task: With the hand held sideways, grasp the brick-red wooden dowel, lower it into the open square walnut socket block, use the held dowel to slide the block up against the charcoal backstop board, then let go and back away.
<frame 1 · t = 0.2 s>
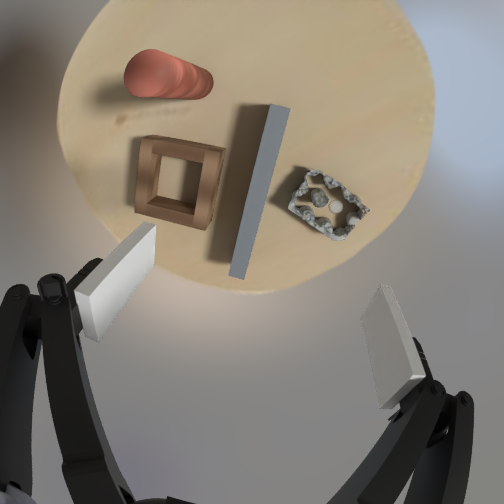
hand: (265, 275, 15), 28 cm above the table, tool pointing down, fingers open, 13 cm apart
grey rough frame: (326, 200, 42), on the table
backstop wall: (259, 189, 42), on the table
socket block: (182, 177, 42), on the table
dowel: (196, 83, 35), on the table
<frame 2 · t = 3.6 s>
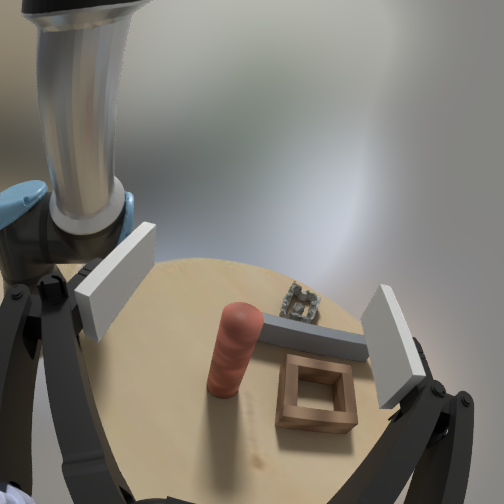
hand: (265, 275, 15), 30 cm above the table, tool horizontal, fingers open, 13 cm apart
grey rough frame: (297, 312, 61), on the table
backstop wall: (306, 347, 51), on the table
socket block: (312, 400, 41), on the table
dowel: (222, 385, 40), on the table
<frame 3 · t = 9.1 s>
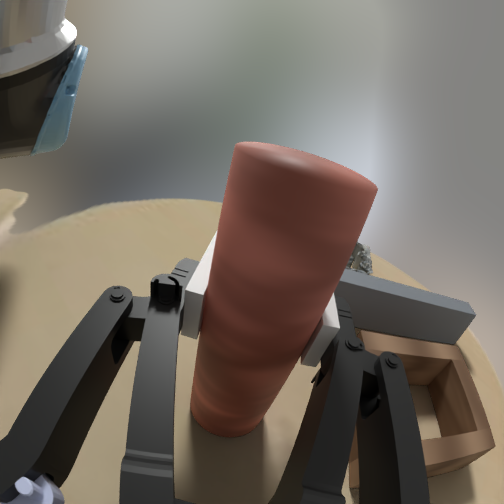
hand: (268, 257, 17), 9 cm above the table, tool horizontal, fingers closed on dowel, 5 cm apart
grey rough frame: (338, 269, 38), on the table
backstop wall: (373, 323, 28), on the table
socket block: (406, 419, 17), on the table
dowel: (227, 405, 17), on the table, touching gripper
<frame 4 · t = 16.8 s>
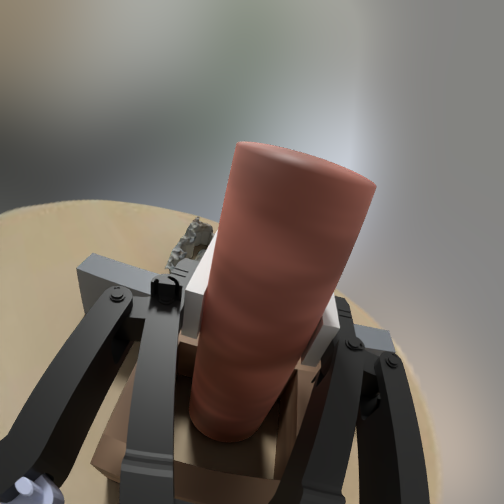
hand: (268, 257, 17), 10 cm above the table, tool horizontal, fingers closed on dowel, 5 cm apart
grey rough frame: (207, 272, 32), on the table
backstop wall: (225, 350, 22), on the table
socket block: (219, 432, 16), on the table, touching dowel
dowel: (226, 410, 16), point 1 cm above the table, touching gripper, socket block
when the fingers open (10 cm above the table, at t = 17.5 s): dowel stays where it is, resting in socket block.
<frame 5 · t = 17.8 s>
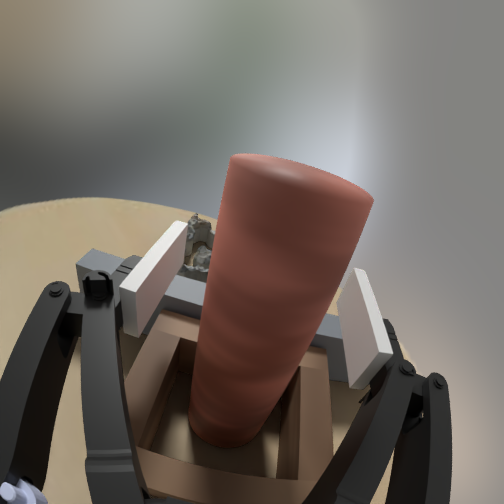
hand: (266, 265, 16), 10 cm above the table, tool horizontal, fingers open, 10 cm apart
grey rough frame: (206, 268, 32), on the table
backstop wall: (226, 347, 22), on the table
socket block: (220, 430, 16), on the table
dowel: (225, 416, 16), resting in socket block
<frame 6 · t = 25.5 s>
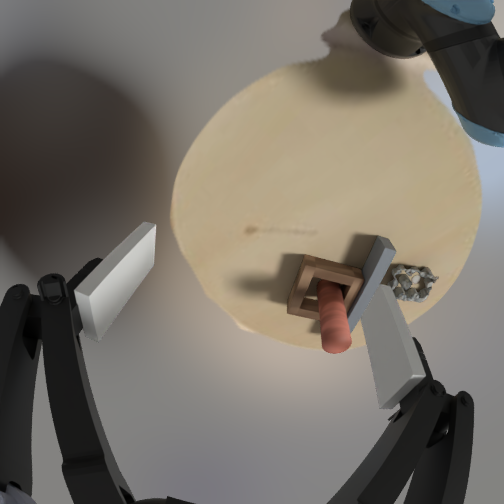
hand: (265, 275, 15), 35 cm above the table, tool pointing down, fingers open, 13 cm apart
grey rough frame: (408, 278, 54), on the table
backstop wall: (357, 290, 56), on the table
socket block: (323, 285, 56), on the table
dowel: (328, 287, 56), resting in socket block
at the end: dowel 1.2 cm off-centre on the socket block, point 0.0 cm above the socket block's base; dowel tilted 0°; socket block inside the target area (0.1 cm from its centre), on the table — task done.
